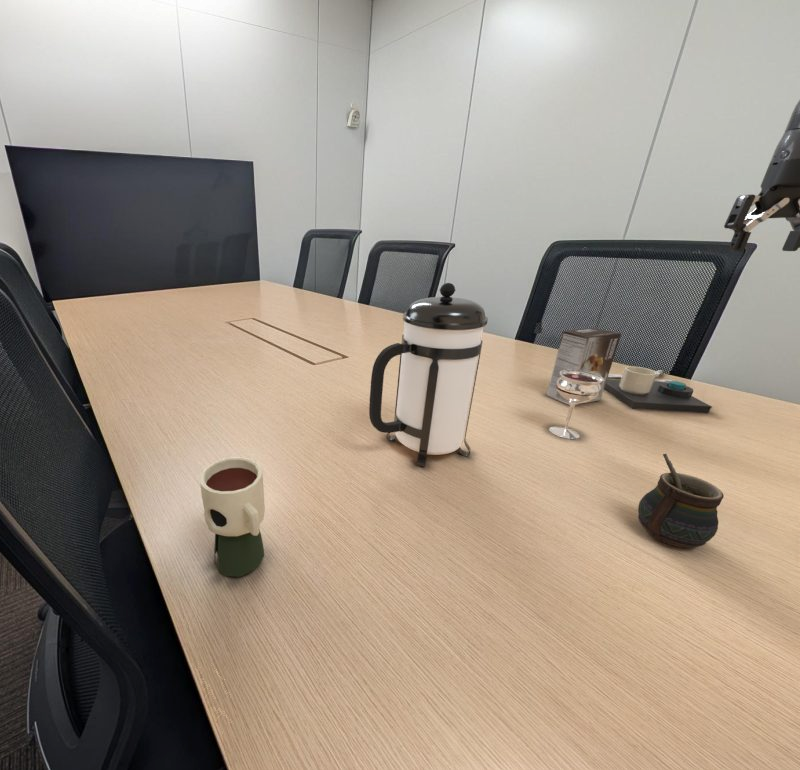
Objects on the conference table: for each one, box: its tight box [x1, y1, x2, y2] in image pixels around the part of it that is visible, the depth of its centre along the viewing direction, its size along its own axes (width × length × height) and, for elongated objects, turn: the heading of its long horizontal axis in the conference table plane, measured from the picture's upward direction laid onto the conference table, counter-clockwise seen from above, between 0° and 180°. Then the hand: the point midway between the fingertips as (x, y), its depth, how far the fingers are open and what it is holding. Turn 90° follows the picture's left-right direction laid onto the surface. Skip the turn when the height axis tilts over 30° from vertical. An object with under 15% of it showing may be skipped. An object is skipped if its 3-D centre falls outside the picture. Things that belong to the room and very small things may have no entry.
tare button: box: [668, 380, 687, 390], centre depth 85 cm, size 3×3×1 cm
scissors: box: [608, 369, 673, 383], centre depth 98 cm, size 11×1×20 cm
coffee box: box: [546, 327, 622, 406], centre depth 85 cm, size 9×6×16 cm
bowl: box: [619, 365, 657, 394], centre depth 87 cm, size 6×6×5 cm
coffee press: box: [368, 282, 489, 468], centre depth 64 cm, size 17×16×30 cm
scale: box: [604, 378, 712, 414], centre depth 87 cm, size 14×14×3 cm
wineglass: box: [548, 370, 604, 440], centre depth 71 cm, size 7×7×12 cm
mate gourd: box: [637, 453, 725, 549], centre depth 47 cm, size 7×8×10 cm
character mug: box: [199, 456, 266, 578], centre depth 45 cm, size 11×7×13 cm, turn 34°
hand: (762, 251), depth 75 cm, fingers open, 8 cm apart
